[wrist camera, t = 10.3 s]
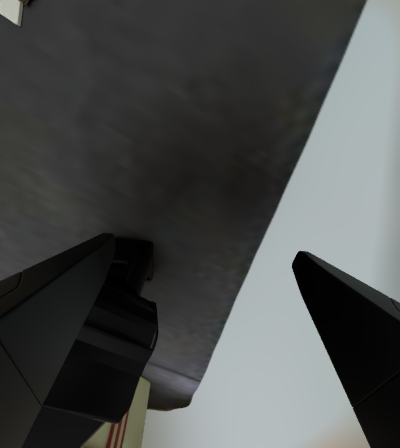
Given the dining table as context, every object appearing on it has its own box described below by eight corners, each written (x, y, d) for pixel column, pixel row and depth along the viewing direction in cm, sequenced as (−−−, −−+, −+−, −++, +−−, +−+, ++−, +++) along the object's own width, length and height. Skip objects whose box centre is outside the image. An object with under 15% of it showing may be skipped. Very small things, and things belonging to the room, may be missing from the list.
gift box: (112, 402, 47) (75, 535, 32) (48, 373, 39) (-41, 532, 24) (168, 383, 43) (156, 525, 28) (111, 346, 35) (50, 516, 20)
